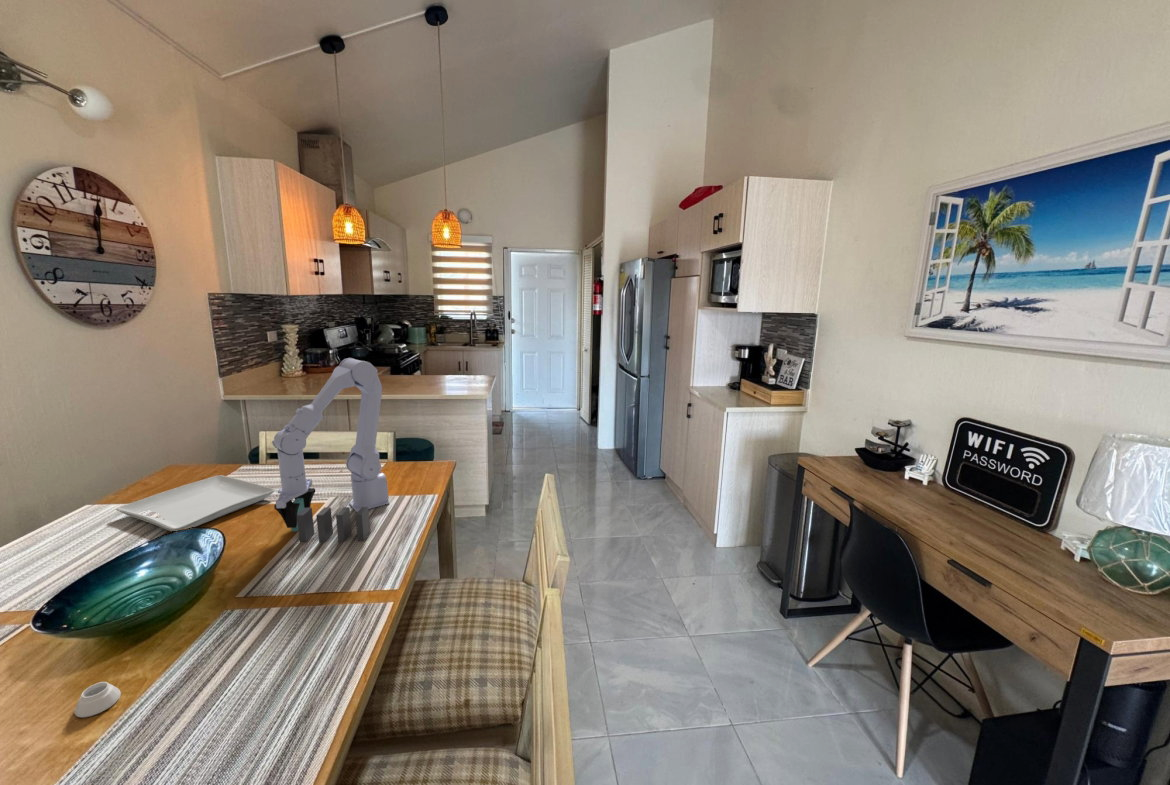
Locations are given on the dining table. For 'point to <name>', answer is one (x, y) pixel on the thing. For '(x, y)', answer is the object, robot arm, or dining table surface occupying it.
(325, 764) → the dining table surface
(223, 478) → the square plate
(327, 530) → the tile
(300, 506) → the tile
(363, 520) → the tile
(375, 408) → the robot arm
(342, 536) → the tile
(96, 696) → the small white bowl
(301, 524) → the tile
